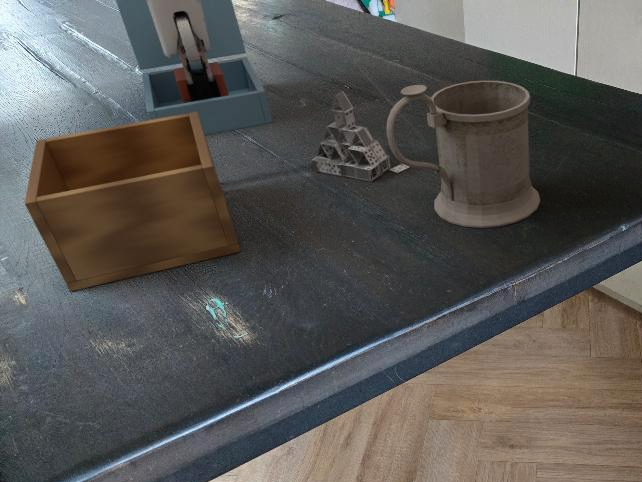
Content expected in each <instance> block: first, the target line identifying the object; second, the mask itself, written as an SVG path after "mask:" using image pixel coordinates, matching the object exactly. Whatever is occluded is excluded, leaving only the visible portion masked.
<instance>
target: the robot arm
mask: <svg viewBox="0 0 642 482" xmlns="http://www.w3.org/2000/svg"><path fill="white" fill-rule="evenodd" d="M146 1H147V4H148V7H149V10H150V13H151V16H152V19H153V22H154V25H155V28H156V31H157V34H158V36H159V39H160V42H161V45H162V48H163V52H164V55H165V56H167V57H168V58H172V56H171V54H176V51H177V50H178V53H179V58H180V59H181V62H182V63H181V65H182V67H183V69H184V72H185V75H186V78H187V81H188V83H186V85H187V88H188V91H189V94H190V97H191V101H192V102H194V101H200V100H205V99H211V98H217V97H221V95H220V92H219V88H218V85H217V82H216V79H215V78H214V79H213V76H212V72H211V69H210V66H209V63H210V62H209V59H207V56H206V52H208V51H209V49H210V43H209V38H208V33H207V28H206V23H205V18H204V14H203V9H202V5H201V1H200V0H146ZM173 14H174V16H175V17H174V16H173ZM197 47H198V48H197ZM204 48H205V50H206V52H205V50H204ZM198 49H199V51H198ZM183 50H184V52H183ZM190 73H191V75H190ZM191 76H192V77H191ZM192 80H193V81H192Z"/></svg>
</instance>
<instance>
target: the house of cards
mask: <svg viewBox="0 0 642 482" xmlns="http://www.w3.org/2000/svg"><path fill="white" fill-rule="evenodd" d="M353 109H354V106H353V105H352V103H351V102H350V100H349V98H348V97H347V95H346V93H345V92H344V90H342V91H340V92H338V93H336V94H335V95H334V98H333V101H332V106H331V109H330V111H332V113H333V119H334V122H332V123H331V124H329V125H327V126H326V129H325V134H324V137H323V141H321V142H320V143H319V146H318V150H317V152H316V153H317V154H316V156H315V157H314V158H312V159H311V161H312V165H313V170H314V173H316V172H317V173H318V172H319V173H324V174H328V175H335V176H338V177H339V176H340V177H341V178H343V177H345V178H346V177H347V178H351V179H356V180H360V181H361V180H362V181H367V182H370V183H371V182H373V181H374V180H376V179H377V178H378V177H380V176H383V175H384V173H385V172H387V170H389V171H392V172H394V173H396V174H399V173H400V172H403V171H405V170H407V169H409V168H410V166H407V165H405V164H403V163H400V164H399V165H396V166H394V167H392V168H391V163H390V162H391V161H390V155H389V154H388V155H387V154H386V152H385V150H384V149H383V147H382V146H381V144H380V142H379V141H378V140H376V139H374V138H373V136H372V135H371V133H370V131H369V129H368V128H367V127H366V126H365V127H363V126H359V125H356V122H355V115H354V110H353ZM343 113H344V115H343ZM344 117H345V118H344Z"/></svg>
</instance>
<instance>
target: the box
mask: <svg viewBox="0 0 642 482" xmlns="http://www.w3.org/2000/svg"><path fill="white" fill-rule="evenodd" d="M217 62H218V64H219V66H220V69H221V71H222V74H223V77H224V80H225V84H226V87H227V91H228V94H229V95H228V96H223V97H217V98H211V99H205V100H200V101H194V102H188V103H183V99H182V96H181V93H180V90H179V87H178V84H177V81H176V77H175V73H174V69H175V68H171V69H170V68H169V69H162V70H157V71H151V72H144V73H141V79H142V84H143V93H144V102H145V109H146V114H147V117H148V119H149V120H153V119H159V118H165V117H170V116H176V115H182V114H187V113H188V114H189V113H193V112H198V116H199V119H200V122H201V125H202V128H203V131H204V134H205V136H209V135H213V134H219V133H220V134H221V133H225V132H230V131H231V132H232V131H235V130H241V129H247V128H251V127H252V128H253V127H257V126H263V125H268V124H273V123H274V120H273V115H272V112H271V107H270V104H269V101H268V97H267V93H266V90H265V88H264V86H263V84H262V83H261V81H260V79H259V77H258V75H257V73H256V71H255V70H254V68H253V66H252V64H251V61H250V60H249V58H248V57H247V56H245V57H238V58H231V59H225V60H219V61H217ZM182 67H183V66H182ZM182 67H180V68H182Z"/></svg>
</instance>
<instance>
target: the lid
mask: <svg viewBox="0 0 642 482" xmlns="http://www.w3.org/2000/svg"><path fill="white" fill-rule="evenodd" d="M200 1H201V5H202V9H203V14H204V18H205V23H206V28H207V33H208V38H209V43H210V49H209V51H208V52H206V50H205V48H204V50H205V52H206V56H207V59H208V60H211V59H213V60H214V59H219V58H225V57H230V56H238V55H244V54H247V51H246V47H245V44H244V41H243V37H242V36H243V35H242V33H241V30H240V26H239V25H240V24H239V22H238V18H237V14H236V11H235V8H234V4H233V0H200ZM115 3H116V5H117V9H118V11H119V14H120V17H121V19H122V23H123V25H124V28H125V31H126V34H127V36H128V40H129V42H130V43H129V44H130V46H131V48H132V51H133V54H134V56H135V60H136V62H137V65H138V68H139V70H140V71H141V70H142V71H143V70H150V69H157V68H161V67H168V66H174V65H182V62H181V59H180V58H179V53H178V50H177V51H176V54H171V56H172V58H168V57H167V56H165V55H164V52H163V48H162V45H161V42H160V39H159V36H158V34H157V31H156V28H155V25H154V22H153V19H152V16H151V13H150V10H149V7H148V4H147V1H146V0H115ZM173 16H174V14H173ZM174 17H175V16H174ZM197 48H198V47H197ZM198 51H199V49H198ZM183 52H184V50H183Z"/></svg>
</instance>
